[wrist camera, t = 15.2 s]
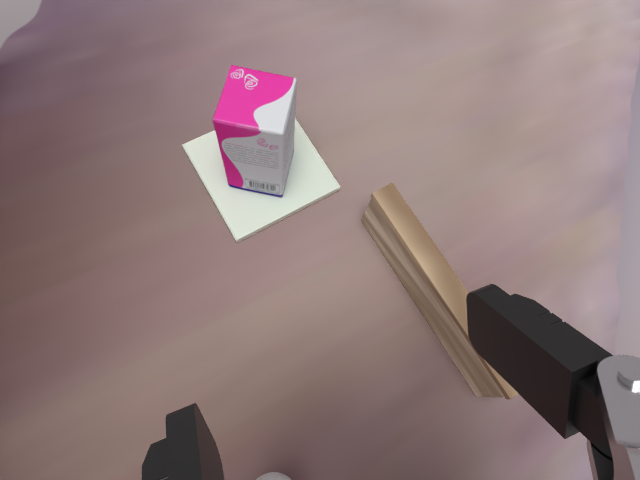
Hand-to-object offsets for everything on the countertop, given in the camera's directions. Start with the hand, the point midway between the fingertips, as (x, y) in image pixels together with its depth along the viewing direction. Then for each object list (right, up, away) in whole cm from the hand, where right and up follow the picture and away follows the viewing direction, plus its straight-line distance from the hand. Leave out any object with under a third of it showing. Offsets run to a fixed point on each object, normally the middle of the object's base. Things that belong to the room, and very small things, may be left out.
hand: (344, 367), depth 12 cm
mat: (-7, +11, +35) cm, 37 cm away
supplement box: (-7, +11, +34) cm, 36 cm away
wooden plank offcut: (+9, -2, +31) cm, 33 cm away
